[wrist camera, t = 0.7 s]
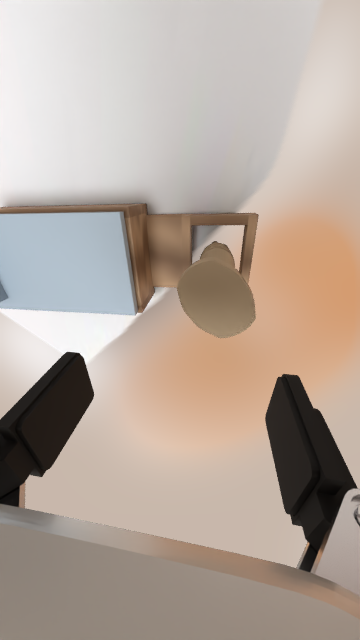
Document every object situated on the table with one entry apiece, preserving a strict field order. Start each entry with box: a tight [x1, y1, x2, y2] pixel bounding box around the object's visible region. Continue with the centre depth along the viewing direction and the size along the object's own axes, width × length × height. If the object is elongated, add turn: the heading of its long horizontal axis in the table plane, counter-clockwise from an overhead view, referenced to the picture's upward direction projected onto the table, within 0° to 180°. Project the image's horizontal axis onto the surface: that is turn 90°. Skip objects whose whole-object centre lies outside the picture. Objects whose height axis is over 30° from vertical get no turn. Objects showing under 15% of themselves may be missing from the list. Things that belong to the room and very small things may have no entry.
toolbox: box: [0, 204, 258, 313], centre depth 27 cm, size 12×33×6 cm, turn 92°
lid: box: [0, 212, 138, 315], centre depth 23 cm, size 11×19×4 cm, turn 92°
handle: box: [177, 241, 256, 338], centre depth 22 cm, size 5×6×15 cm
